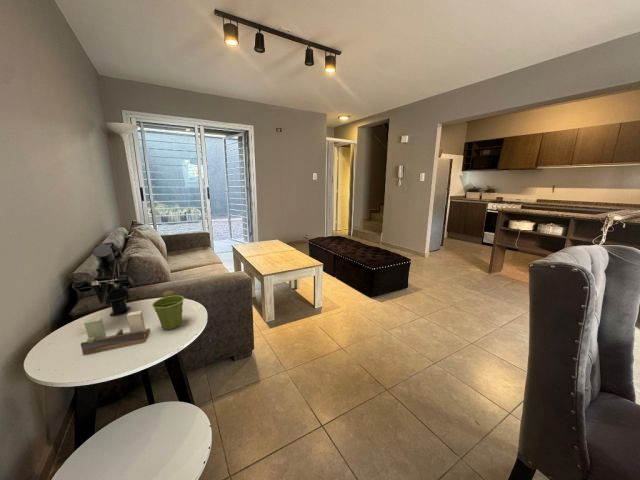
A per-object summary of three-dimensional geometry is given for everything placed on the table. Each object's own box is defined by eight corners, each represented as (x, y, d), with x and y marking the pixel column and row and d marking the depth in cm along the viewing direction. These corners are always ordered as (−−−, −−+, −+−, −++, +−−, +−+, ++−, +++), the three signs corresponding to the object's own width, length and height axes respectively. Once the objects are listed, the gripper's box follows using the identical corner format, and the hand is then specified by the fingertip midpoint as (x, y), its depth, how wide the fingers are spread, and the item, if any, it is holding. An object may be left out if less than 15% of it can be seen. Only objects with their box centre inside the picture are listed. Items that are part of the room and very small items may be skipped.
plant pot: (189, 326, 107) (185, 302, 105) (156, 336, 101) (151, 311, 99) (186, 315, 117) (182, 292, 115) (156, 323, 111) (151, 299, 108)
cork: (164, 317, 115) (160, 295, 113) (165, 312, 121) (161, 290, 118) (179, 314, 118) (175, 292, 116) (179, 308, 123) (176, 287, 121)
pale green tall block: (92, 340, 97) (87, 320, 95) (106, 337, 98) (101, 317, 96) (89, 344, 95) (84, 323, 93) (104, 341, 96) (98, 320, 94)
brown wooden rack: (93, 342, 99) (90, 329, 97) (150, 331, 105) (147, 319, 104) (82, 355, 91) (78, 342, 90) (144, 342, 97) (141, 330, 96)
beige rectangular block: (133, 332, 101) (128, 312, 99) (145, 329, 103) (141, 310, 101) (130, 335, 99) (126, 316, 97) (144, 333, 100) (139, 313, 98)
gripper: (138, 273, 119) (135, 305, 111) (89, 279, 113) (82, 314, 105) (129, 262, 110) (126, 295, 102) (75, 268, 104) (67, 304, 96)
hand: (101, 303), depth 102 cm, fingers closed
